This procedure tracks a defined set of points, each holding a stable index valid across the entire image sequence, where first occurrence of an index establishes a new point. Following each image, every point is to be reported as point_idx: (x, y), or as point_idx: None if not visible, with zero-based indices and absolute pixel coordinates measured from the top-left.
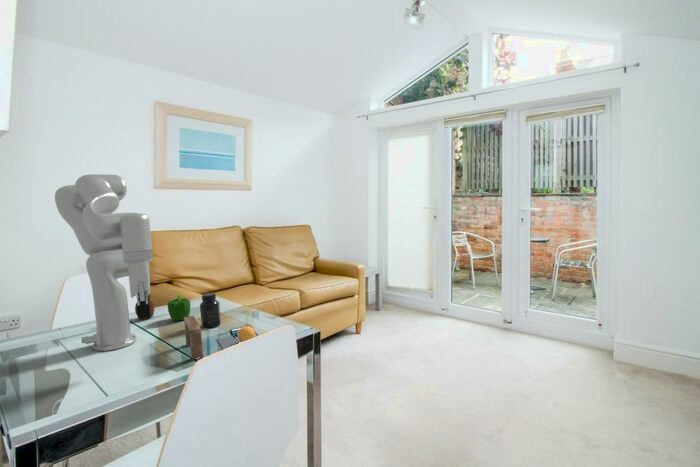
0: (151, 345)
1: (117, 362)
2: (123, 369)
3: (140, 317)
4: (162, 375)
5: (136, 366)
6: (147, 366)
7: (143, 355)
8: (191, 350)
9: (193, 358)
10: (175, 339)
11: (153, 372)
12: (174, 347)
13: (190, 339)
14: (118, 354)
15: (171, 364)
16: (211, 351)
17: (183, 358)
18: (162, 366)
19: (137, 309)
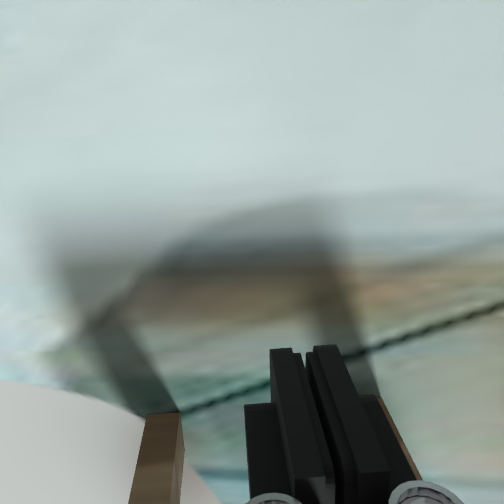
0: (498, 239)
1: (343, 60)
2: (205, 103)
3: (271, 376)
4: (21, 295)
5: (212, 171)
6: (180, 226)
7: (363, 202)
8: (147, 450)
9: (147, 424)
10: (498, 352)
11: (80, 256)
12: (378, 347)
13: (143, 502)
14: (484, 57)
15: (145, 332)
16: (215, 483)
17: (195, 381)
18: (140, 295)
19: (288, 434)
